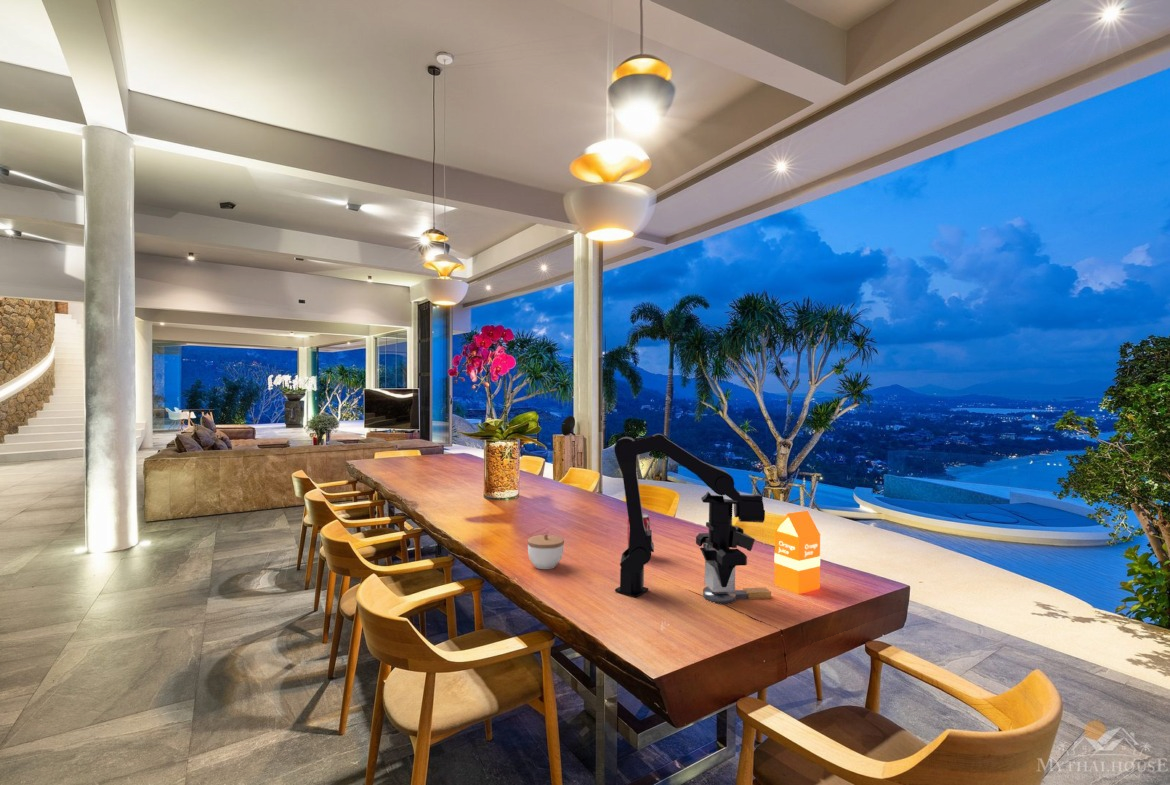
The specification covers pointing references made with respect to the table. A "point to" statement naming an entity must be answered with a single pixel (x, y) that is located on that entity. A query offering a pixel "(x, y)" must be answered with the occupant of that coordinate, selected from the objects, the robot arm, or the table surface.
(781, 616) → the table surface
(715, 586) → the white metal cube
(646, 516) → the soda can
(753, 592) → the ratchet
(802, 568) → the orange juice
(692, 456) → the robot arm
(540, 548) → the lidded jar
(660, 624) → the table surface
